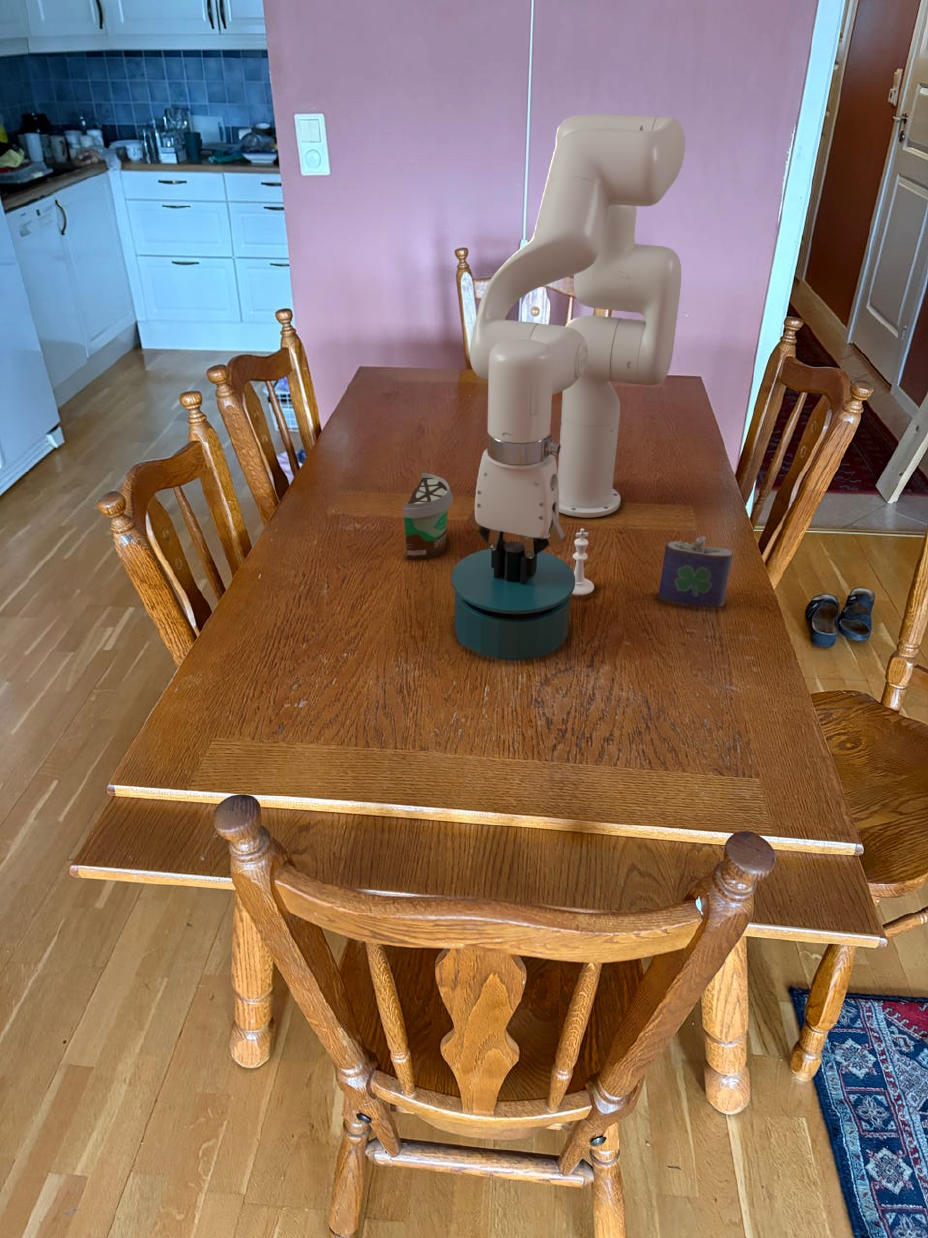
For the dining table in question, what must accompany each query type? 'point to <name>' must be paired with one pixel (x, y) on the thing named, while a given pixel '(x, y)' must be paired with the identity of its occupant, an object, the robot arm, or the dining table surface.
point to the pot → (510, 632)
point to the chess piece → (581, 566)
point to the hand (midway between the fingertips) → (513, 575)
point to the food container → (427, 517)
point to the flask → (695, 574)
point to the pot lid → (512, 582)
